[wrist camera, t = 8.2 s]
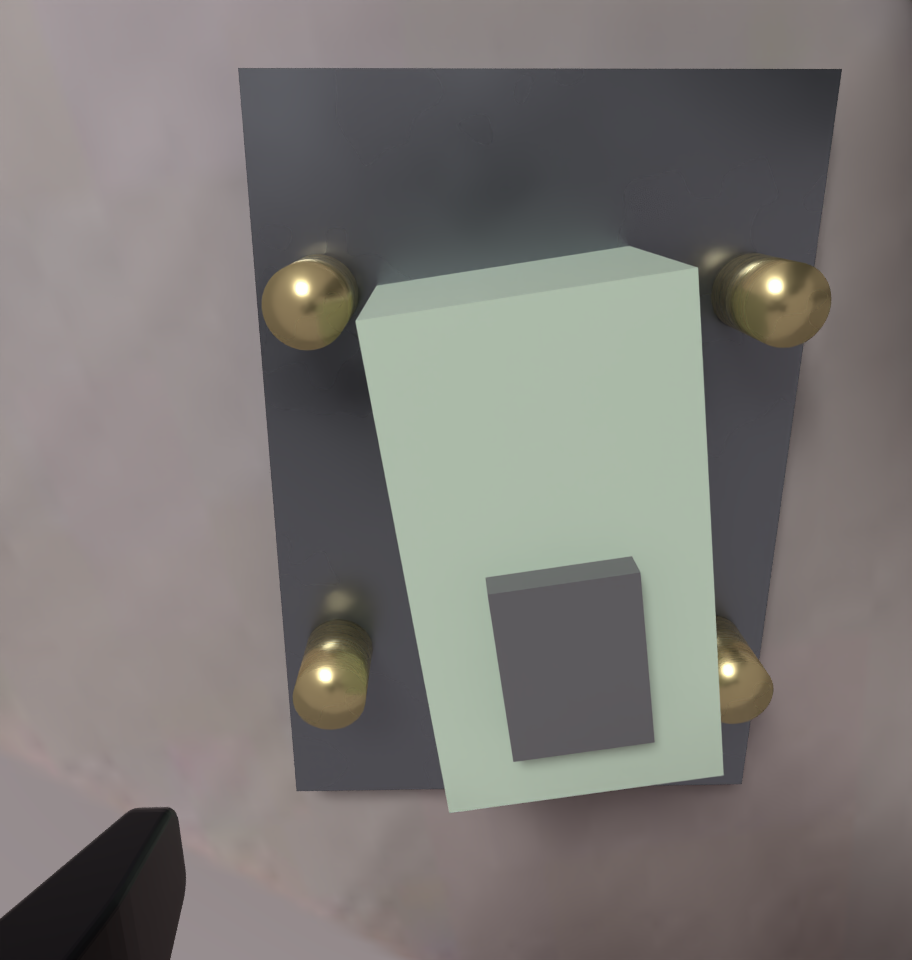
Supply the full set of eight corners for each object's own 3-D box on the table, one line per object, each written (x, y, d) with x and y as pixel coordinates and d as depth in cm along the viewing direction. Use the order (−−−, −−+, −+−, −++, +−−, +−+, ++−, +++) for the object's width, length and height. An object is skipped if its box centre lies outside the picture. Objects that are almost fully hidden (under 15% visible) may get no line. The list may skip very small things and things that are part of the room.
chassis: (813, 76, 16) (899, 52, 13) (725, 752, 22) (772, 844, 19) (252, 76, 16) (209, 51, 13) (303, 759, 21) (282, 853, 18)
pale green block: (629, 245, 16) (710, 271, 11) (660, 644, 19) (735, 798, 14) (376, 285, 16) (351, 327, 11) (446, 675, 19) (449, 837, 14)
